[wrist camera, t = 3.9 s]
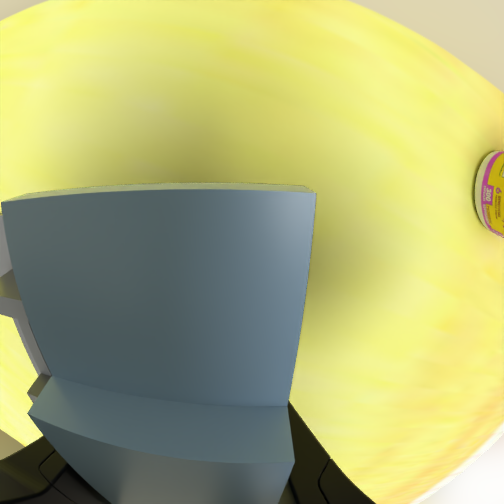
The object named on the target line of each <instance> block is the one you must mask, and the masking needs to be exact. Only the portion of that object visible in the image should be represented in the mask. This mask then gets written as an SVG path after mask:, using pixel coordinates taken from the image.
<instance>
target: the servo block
mask: <svg viewBox="0 0 504 504" xmlns="http://www.w3.org/2000/svg"><path fill="white" fill-rule="evenodd" d="M315 204H316V193H315V192H314V191H312V190H310V189H309V188H307V187H305V186H298V185H280V184H255V183H152V184H129V185H111V186H97V187H84V188H73V189H63V190H54V191H45V192H37V193H29V194H25V195H21V196H18V197H15V198H12V199H9V200H6V201H3V202H1V207H2V215H3V222H4V229H5V235H6V240H7V245H8V250H9V255H10V260H11V264H12V268H13V272H14V276H15V280H16V283H17V287H18V290H19V293H20V297H21V300H22V303H23V306H24V309H25V312H26V315H27V318H28V320H29V323H30V326H31V329H32V331H33V334H34V336H35V339H36V341H37V343H38V346H39V348H40V350H41V353H42V355H43V357H44V359H45V362H46V364H47V366H48V368H49V370H50V372H51V374H52V376H51V378H50V379H49V381H48V382H47V384H46V385H45V387H44V388H43V390H42V391H41V393H40V394H39V396H38V397H37V399H36V400H35V402H34V404H33V405H32V407H31V408H30V410H29V412H28V413H27V414H28V415H29V416H30V418H31V419H32V421H33V422H34V423H35V425H36V426H37V427H38V429H39V430H40V431H41V432H42V434H43V435H44V436H45V437H46V439H47V440H48V441H49V442H50V443H51V445H52V446H53V447H54V448H55V449H56V450H57V452H58V453H59V454H60V455H61V456H62V457H63V458H64V459H65V460H66V461H67V462H68V464H69V465H70V466H71V467H72V468H73V469H74V470H75V471H76V472H77V473H78V474H79V475H80V476H81V477H82V478H83V479H84V480H85V481H87V482H88V483H89V484H90V485H91V486H92V487H93V488H94V489H95V490H96V491H97V492H99V493H100V494H101V495H102V496H103V497H104V498H106V499H107V500H108V501H109V502H110V503H112V504H278V502H279V500H280V497H281V495H282V493H283V490H284V488H285V485H286V483H287V481H288V478H289V476H290V473H291V470H292V468H293V465H294V463H295V459H294V451H293V444H292V436H291V429H290V422H289V415H288V407H287V405H288V400H289V395H290V389H291V384H292V379H293V373H294V368H295V362H296V356H297V350H298V344H299V338H300V331H301V325H302V318H303V311H304V304H305V297H306V289H307V281H308V273H309V265H310V256H311V247H312V237H313V227H314V216H315Z"/></svg>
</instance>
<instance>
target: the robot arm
mask: <svg viewBox="0 0 504 504" xmlns="http://www.w3.org/2000/svg"><path fill="white" fill-rule="evenodd" d="M287 407H288V415H289V422H290V429H291V436H292V444H293V451H294V459H295V463H294V465H293V468H292V470H291V473H290V476H289V478H288V481H287V483H286V485H285V488H284V490H283V493H282V495H281V497H280V500H279V502H278V504H376V503H375V502H373V501H372V500H371V499H370V498H369V497H368V496H367V495H365V494H364V493H363V492H362V491H361V490H360V489H359V488H358V487H357V486H356V485H355V484H354V483H353V482H352V481H351V480H350V479H349V478H348V477H347V476H346V475H345V474H344V473H343V472H342V470H341V469H340V468H339V467H338V466H337V464H336V463H335V462H334V461H333V459H330V456H329V454H328V453H327V452H326V450H325V449H324V448H323V446H322V445H321V444H320V443H319V441H318V440H317V439H316V437H315V436H314V435H313V433H312V432H311V431H310V429H309V428H308V426H307V425H306V424H305V422H304V421H303V420H302V418H301V417H300V415H299V414H298V413H297V411H296V410H295V409H294V407H293V406H292V404H291V403H290V402H289V400H288V405H287ZM0 504H112V503H110V502H109V501H108V500H107V499H106V498H104V497H103V496H102V495H101V494H100V493H99V492H97V491H96V490H95V489H94V488H93V487H92V486H91V485H90V484H89V483H88V482H87V481H85V480H84V479H83V478H82V477H81V476H80V475H79V474H78V473H77V472H76V471H75V470H74V469H73V468H72V467H71V466H70V465H69V464H68V462H67V461H66V460H65V459H64V458H63V457H62V456H61V455H60V454H59V453H58V452H57V450H56V449H55V448H54V447H53V446H52V445H51V443H50V442H49V441H48V440H47V439H46V437H45V436H44V435H43V436H42V437H41V438H39V439H38V440H36V441H34V442H33V443H31V444H29V445H28V446H26V447H24V448H22V449H21V450H19V451H17V452H15V453H13V454H12V455H10V456H8V457H6V458H4V459H2V460H0Z"/></svg>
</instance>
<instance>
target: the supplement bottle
mask: <svg viewBox="0 0 504 504" xmlns="http://www.w3.org/2000/svg"><path fill="white" fill-rule="evenodd" d="M475 204H476V209H477V213H478V216H479V218H480V220H481V222H482V224H483V225H484V226H485V227H486V228H487V229H488V230H490V231H492V232H493V233H495V234H497V235H499V236H501V237H503V238H504V151H495V152H492V153H490V154H489V155H488V156H487V157H486V158H485V159H484V160H483V162H482V164H481V166H480V168H479V170H478V174H477V177H476V183H475Z"/></svg>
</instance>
